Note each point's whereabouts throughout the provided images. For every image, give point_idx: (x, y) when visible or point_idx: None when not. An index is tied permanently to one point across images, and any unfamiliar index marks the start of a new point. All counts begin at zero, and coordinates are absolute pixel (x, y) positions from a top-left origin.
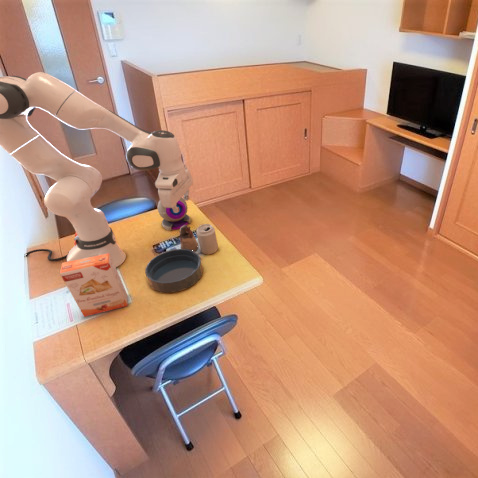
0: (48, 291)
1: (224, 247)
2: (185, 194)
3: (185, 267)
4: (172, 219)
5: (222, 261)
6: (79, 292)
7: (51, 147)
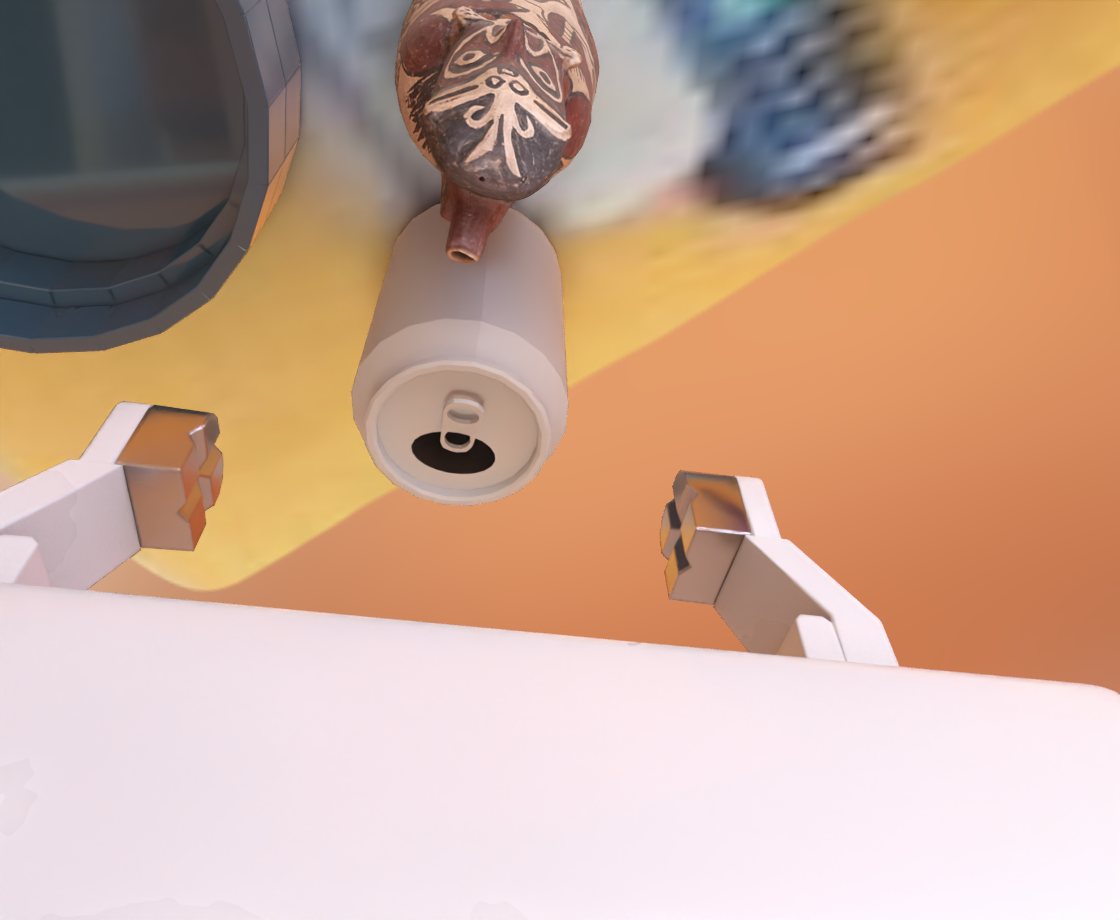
0: None
1: None
2: (752, 582)
3: (145, 107)
4: None
5: (328, 399)
6: None
7: None
